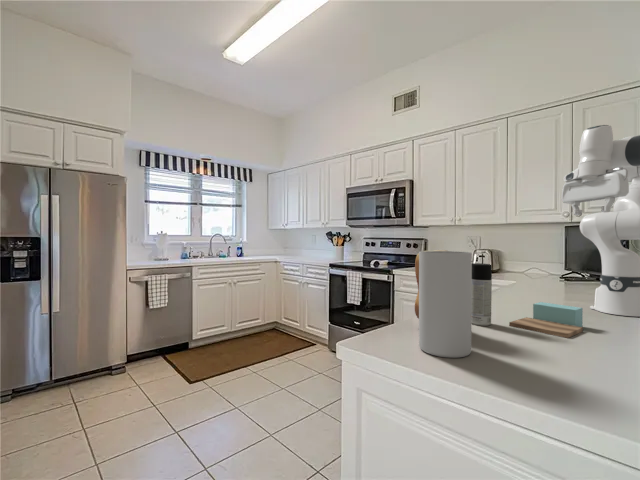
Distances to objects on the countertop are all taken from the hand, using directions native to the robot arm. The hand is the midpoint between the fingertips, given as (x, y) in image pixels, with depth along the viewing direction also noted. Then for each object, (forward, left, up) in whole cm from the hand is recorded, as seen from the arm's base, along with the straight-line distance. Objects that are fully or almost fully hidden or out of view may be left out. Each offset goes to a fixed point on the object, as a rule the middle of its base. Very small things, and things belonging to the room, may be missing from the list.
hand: (591, 213), depth 111 cm
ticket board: (+20, -6, -37) cm, 42 cm away
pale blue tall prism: (+11, -6, -37) cm, 39 cm away
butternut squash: (+49, -25, -37) cm, 66 cm away
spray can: (+31, -21, -37) cm, 53 cm away
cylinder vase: (+64, -12, -37) cm, 75 cm away
